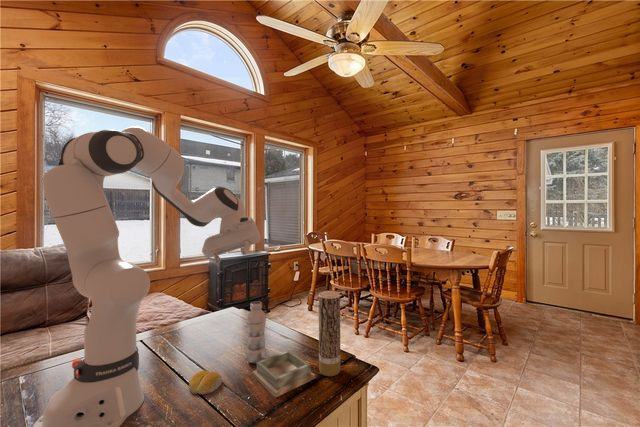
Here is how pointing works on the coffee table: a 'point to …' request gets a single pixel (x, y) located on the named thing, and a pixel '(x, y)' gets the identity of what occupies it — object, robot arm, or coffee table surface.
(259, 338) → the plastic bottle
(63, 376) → the coffee table surface
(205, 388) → the bread roll
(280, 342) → the coffee table surface
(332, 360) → the paper tube
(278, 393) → the bottle stand
